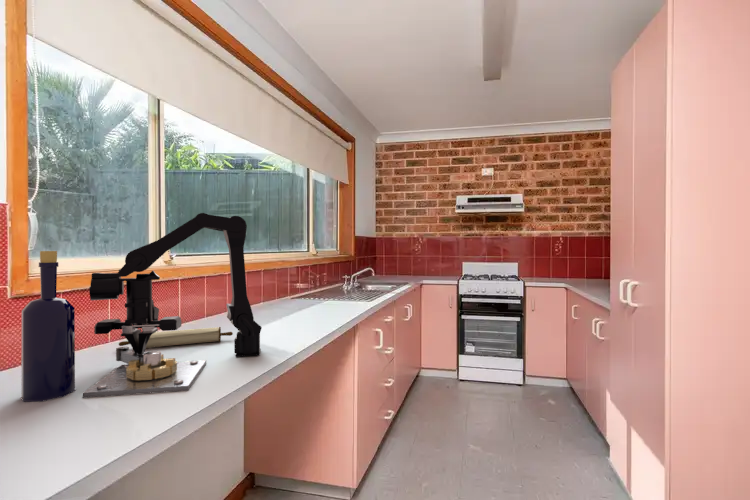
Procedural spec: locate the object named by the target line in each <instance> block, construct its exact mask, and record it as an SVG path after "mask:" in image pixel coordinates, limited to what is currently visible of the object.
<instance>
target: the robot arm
mask: <svg viewBox="0 0 750 500" xmlns="http://www.w3.org/2000/svg"><path fill="white" fill-rule="evenodd" d="M247 228H248V227H247V222H246V220H245V219H244V218H243V217H241V216H239V215H233V216H230V217H227V216H221V215H220V216H219V215H213V214H208V213H205V212H200V213H198V214H196V215H195V216H194V217H193V218H191V219H190V220H188V221H186V222H185V223H183V224H182V225H180V226H178V227H177V228H175V229H174V230H172V231H170V232H169V233H167V234H166V235H164V236H163V237H161V238H159V239H157V240H155V241H152V242H150V243H148V244H145V245H143V246H140V247H137V248H135V249H133V250H131V251H129V252H128V253H127V254H126V255H125V259H124V262H125V264H124V265H123V266H122V267H121V268H120V269H118V272H103V273H102V272H92V273H91V278H90V279H91V280H90V286H89V289H88V290H89V299H90V301H106V300H118V299H119V297H120V295H121V296H123V295H124V291H125V290H126V297H125V299H126V303H124V308H126V318H125V319H124V321H121V319H120V318H105V319H102V320H100V321H98V322H96V323H95V325H94V328H93V329H94V331H93V332H94V335H106V334H109V333H111V332H112V331H113V330H121V333H120V337H124V338H125V339H126V341H128V342H129V343H130V344H129V345H130V346H131V347H132V351H133V352H136V353H139V354H142V355H144V353H145V351H146V349H147V348H146V345H147V343H148V340H149V338H150V336H151V335H152V334H153V333H155V332H159V331H158V330H159V329H160V330H161V332H165V331H177V330H178V329H179V328H181V327H182V318H181V317H180V316H179V315H178V316H177V315H175V316H174V315H172V316H164V317H163V318H161V319H159V315H160V314H159V313H160V309H159V308H158V307H157V306H155V304H154V299H153V281H157V280H160V279H161V277H160V275H158V274H157V273H156V272H155V270H151V271H150V272H149V273H141V272H144V271H146V270H147V269H149V268H150V267H151V266H152V265H153V264H155V263H156V262H157V260H159V259H160V258H161V257H162V256H163V255H164V254H165V253H166V252H168V251H169V250H171V249H173V248H174V247H176V246H177V245H178V244H180V243H182V242H183V241H185V240H186V239H188V238H191V236H193V235H194V234H197V232H199V231H201V230H202V229H210V230H213V231H218V232H223V235H224V239H225V242H226V245H227V247H228V257H229V267H230V282H231V293H232V294H231V295H232V296H231V303H226V309H227V315H226V317H227V319H228V320H229V321H230V323H231V324H232V325H233V326H234V327H235V329H237V333H236V336H235V338H234V345H233V346H234V354H235V357H238V358H239V357H240V358H241V357H257V356H260V355H261V350H262V349H261V332H262V326H261V325H260V324H258V322H257V321H255V318H254V314H253V311H252V306H251V303H250V301H249V297H248V292H247V291H248V290H247V279H246V265H245V263H246V262H245V252H244V249H245V248H244V247H245V242H246V237H247ZM134 272H137V273H136V276H135V277H128V276H129V275H131V274H133V273H134ZM123 277H125V278H123ZM126 277H127V278H126ZM125 282H126V283H125ZM125 284H126V285H125ZM125 286H126V287H125ZM125 288H126V289H125Z"/></svg>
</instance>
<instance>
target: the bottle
mask: <svg viewBox="0 0 750 500" xmlns="http://www.w3.org/2000/svg"><path fill="white" fill-rule="evenodd" d="M39 260H40V262H38V268H39V270H40V271H39V275H40V276H39V277H40V280H39V281H40V298H37V299H33V300H30V301H29V302H28V303H27V304H26V305H25V307H24V308H23V309H21V353H20V354H21V362H20V363H21V364H20V365H21V369H20V370H21V371H20V373H21V375H20V377H21V382H20V383H21V386H20V387H21V389H20V390H21V391H20V392H21V397H20V399H21V398H22V399H23V401H24V402H23V401H22V402H23V403H30V402H31V403H32V402H33V403H35V402H39V403H40V402H42V403H43V402H47V401H50V400H55V399H59V398H64V397H66V396H68V395H70V394H71V393H75V392H76V390H77V389H76V369H75V368H76V366H75V365H76V358H75V357H76V354H75V353H76V351H75V350H76V349H75V348H76V347H75V346H76V345H75V343H76V341H75V339H76V338H75V337H76V335H75V327H76V326H75V325H76V324H75V323H76V322H75V321H76V320H75V319H76V318H75V317H76V316H75V315H76V314H75V311H76V310H75V307H74V305H72V303H70V302H69V301H68V299H66V298H63V297H62V298H61V297H57V282H58V281H57V278H58V277H57V276H58V273H57V272H58V267H59V262H58V251H57V250H40V251H39ZM22 399H21V400H22Z"/></svg>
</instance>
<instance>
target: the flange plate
mask: <svg viewBox="0 0 750 500" xmlns="http://www.w3.org/2000/svg"><path fill="white" fill-rule="evenodd" d="M161 354H162V351H160V350H153V351H148V352H144V354H143V355H144V364H151V368H157V367H161ZM206 365H207V360H206V359H202V360H201V359H200V360H185V361H177V370H176V371H175V372H174V373H173V374H171V375H169V376H165V377H161V378H158V379H152V380H132V379H129V378H127V377H126V368H127V367H128V366H129V364H127V363H126V364H121V365H119V366H118V367H116V368H115V369H114V370H113V371H111V372H109V373H108V374H107V375H105V376H104V377H103V378H101V379H100V380H99V381H97V382H96V383H95V384H93V385H92V386H90V387H89V388H87V389H86V390H85V391H83V392H82V398H83V399H84V397H87V398H98V397H97V396H101V397H112V396H111V395H115V396H125V395H124V394H130V395H137V394H136V393H144V394H153V393H152V392H158V393H167V392H166V391H172V392H184V391H185V392H186V391H189V390H190V388H191V387H192V385H194V383H195V381H196V380H197V378H198V377H199V375H200V374H201V373H202V371H203V369H204V368H205V366H206ZM164 391H165V392H164ZM150 392H151V393H150Z"/></svg>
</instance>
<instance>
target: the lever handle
mask: <svg viewBox="0 0 750 500" xmlns="http://www.w3.org/2000/svg"><path fill="white" fill-rule="evenodd" d="M115 361H116V362H121V363H125V364H126V365H127V364H129V366H128V367H127V368H126V377H127V378H129V379H132V380H152V379H158V378H161V377H165V376H169V375H171V374H173V373H174V372H175V371H176V370H177V362H178V361H177V360H176V357H174V358H171V357H170V358H169V357H167V358H165V357H164V354H162V353H161V367H157V368H151V364H144V354H143V355H142V354H139V353H136V352H134V350H130V347H129V346H119V347H116V350H115Z"/></svg>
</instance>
